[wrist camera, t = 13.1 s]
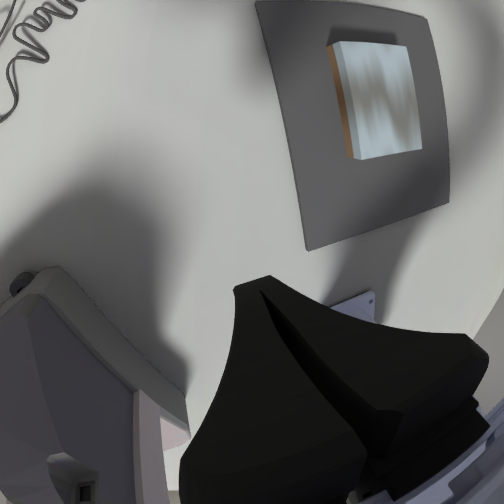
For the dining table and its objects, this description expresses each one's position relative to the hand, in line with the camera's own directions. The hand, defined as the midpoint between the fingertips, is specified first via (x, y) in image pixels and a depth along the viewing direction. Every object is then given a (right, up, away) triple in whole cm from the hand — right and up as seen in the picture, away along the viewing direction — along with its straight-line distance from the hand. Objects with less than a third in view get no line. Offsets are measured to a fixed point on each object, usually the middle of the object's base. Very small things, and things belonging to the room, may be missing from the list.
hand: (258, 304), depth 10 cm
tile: (+11, +13, +7) cm, 19 cm away
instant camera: (-18, -10, +11) cm, 23 cm away
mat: (+9, +12, +8) cm, 18 cm away
